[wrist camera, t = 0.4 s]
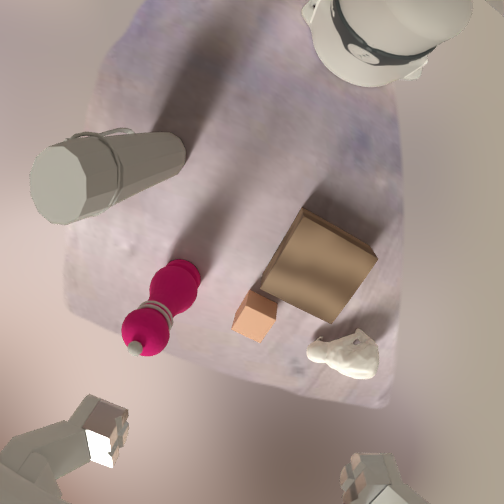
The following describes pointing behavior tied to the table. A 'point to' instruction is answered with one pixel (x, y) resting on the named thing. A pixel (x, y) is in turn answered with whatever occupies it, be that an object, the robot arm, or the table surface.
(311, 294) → the walnut stand
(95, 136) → the water bottle
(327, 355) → the penguin figurine
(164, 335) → the pepper mill
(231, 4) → the table surface
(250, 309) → the terracotta cube
